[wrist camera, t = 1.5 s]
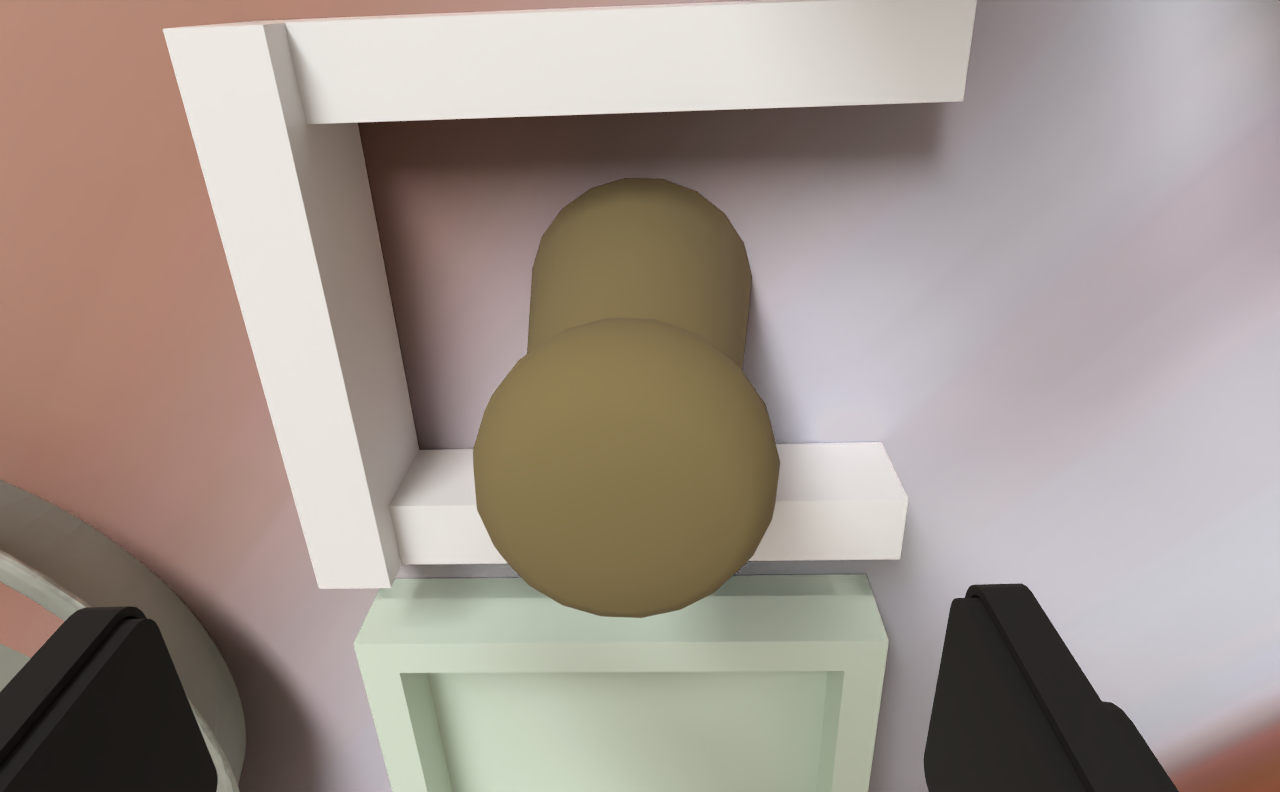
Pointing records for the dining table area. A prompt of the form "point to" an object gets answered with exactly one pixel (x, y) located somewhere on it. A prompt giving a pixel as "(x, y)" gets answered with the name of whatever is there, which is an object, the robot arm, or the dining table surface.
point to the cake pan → (111, 577)
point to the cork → (630, 410)
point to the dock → (493, 88)
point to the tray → (626, 688)
